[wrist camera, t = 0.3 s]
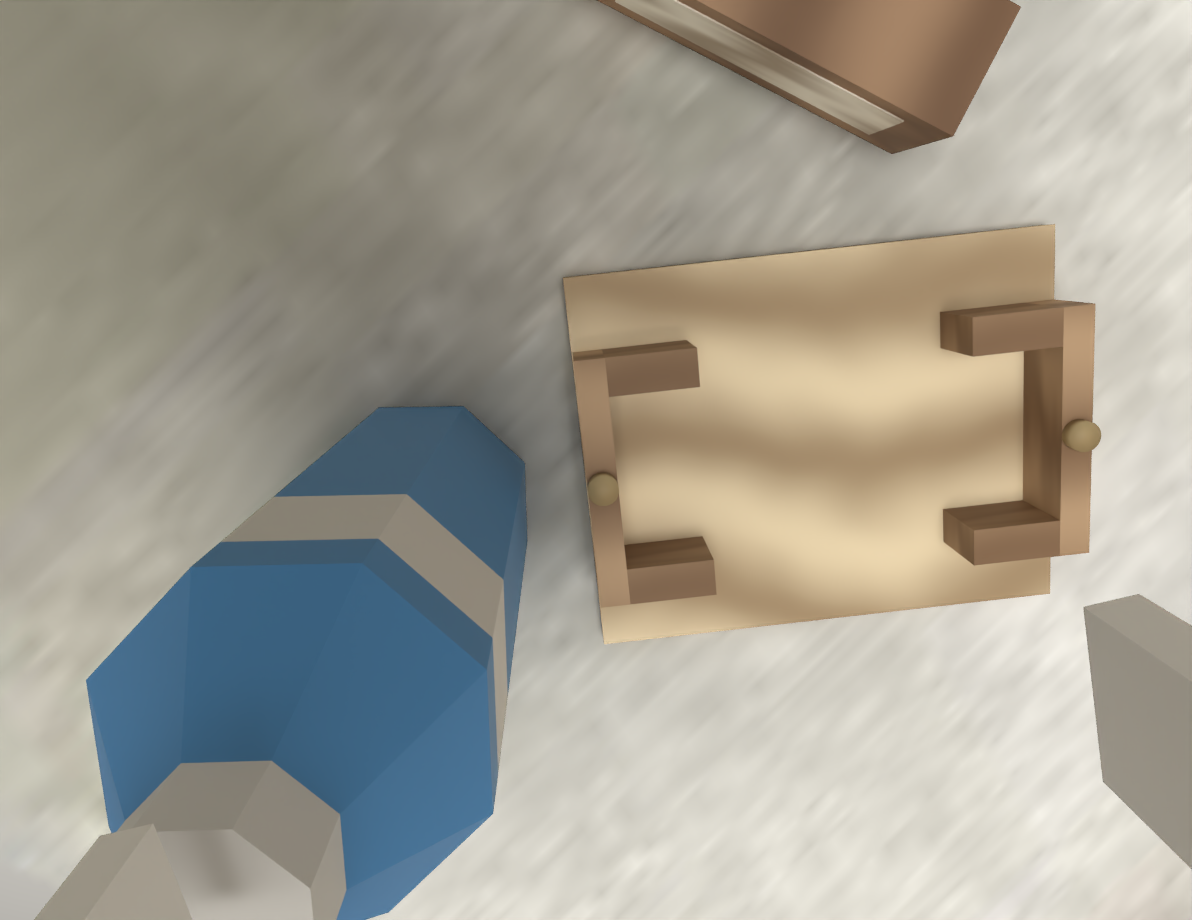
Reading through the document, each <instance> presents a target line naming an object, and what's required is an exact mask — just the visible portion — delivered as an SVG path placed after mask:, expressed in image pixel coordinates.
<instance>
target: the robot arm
mask: <svg viewBox="0 0 1192 920" xmlns="http://www.w3.org/2000/svg"><path fill="white" fill-rule="evenodd" d="M1083 608H1084V617H1085V626H1086V634H1087V643H1088V652H1089V661H1090V670H1091V679H1092V688H1093V697H1094V706H1095V715H1096V724H1097V733H1098V742H1099V751H1100V760H1101V769H1102V778H1103V782H1104V783H1105V784H1106V785H1107V786H1108V787H1109V788H1110V789H1111V790H1112V791H1113V792H1114V793H1115V794H1116V795H1117V796H1118V797H1119V798H1120V799H1121V800H1122V801H1123V802H1124V803H1125V804H1126V805H1127V806H1128V807H1129V808H1130V809H1131V810H1132V811H1133V812H1134V813H1135V814H1136V815H1137V816H1138V817H1139V818H1140V819H1141V820H1142V821H1143V822H1144V823H1145V824H1146V825H1147V826H1149V827H1150V828H1151V829H1152V830H1153V831H1154V832H1155V833H1156V834H1157V835H1158V836H1159V837H1160V838H1161V839H1162V840H1163V841H1164V842H1165V843H1166V844H1167V845H1168V846H1169V847H1170V848H1171V849H1172V850H1173V851H1174V852H1175V853H1176V854H1177V855H1178V856H1179V857H1180V858H1181V859H1182V860H1183V861H1184V862H1185V863H1186V864H1187V865H1188V866H1189V867H1190V868H1191V869H1192V626H1191V625H1190V624H1188V623H1186V622H1185V621H1183V620H1181V619H1180V618H1178V617H1176V616H1175V615H1173V614H1171V613H1170V612H1168V611H1166V610H1165V609H1163V608H1161V607H1160V606H1158V605H1156V604H1155V603H1153V602H1151V601H1150V600H1148V599H1146V598H1145V597H1143V596H1141V595H1140V594H1137V595H1133V596H1128V597H1124V598H1120V599H1115V600H1111V601H1107V602H1103V603H1098V604H1094V605H1090V606H1085V607H1083ZM34 920H193V919H192V917H191V915H190V912H189V910H188V907H187V905H186V902H185V900H184V897H183V895H182V893H181V890H180V888H179V885H178V883H177V880H176V878H175V876H174V873H173V871H172V868H171V866H170V863H169V861H168V858H167V856H166V854H165V851H164V849H163V846H162V844H161V841H160V839H159V836H158V834H157V832H156V829H155V827H154V824H149V825H144V826H140V827H136V828H131V829H127V830H123V831H119V832H114V833H110V834H106V835H101V836H100V837H99V838H98V839H97V840H96V842H95V843H94V844H93V845H92V847H91V848H90V849H89V851H88V852H87V853H86V854H85V856H84V857H83V858H82V859H81V861H80V862H79V863H78V865H77V866H76V867H75V868H74V870H73V871H72V872H71V873H70V875H69V876H68V877H67V878H66V880H65V881H64V882H63V884H62V885H61V886H60V887H59V889H58V890H57V891H56V892H55V894H54V895H53V896H52V898H51V899H50V900H49V901H48V903H47V904H46V905H45V906H44V908H43V909H42V910H41V912H40V913H39V914H38V915H37V917H36V918H35V919H34Z"/></svg>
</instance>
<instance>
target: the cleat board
mask: <svg viewBox="0 0 1192 920" xmlns="http://www.w3.org/2000/svg"><path fill="white" fill-rule="evenodd" d="M1054 269H1055V224H1053V225H1038V226H1029V227H1020V228H1011V229H1002V230H993V231H984V232H974V233H965V234H956V235H947V236H938V237H929V238H920V239H911V240H901V241H892V242H883V243H874V244H865V245H856V246H847V247H838V248H828V249H819V250H810V251H801V252H792V253H783V254H774V255H765V256H755V257H746V258H737V259H728V260H719V261H710V262H701V263H691V264H682V265H673V266H664V267H655V268H646V269H637V270H628V271H618V272H609V273H600V274H591V275H582V276H573V277H564V278H563V284H564V293H565V302H566V311H567V319H568V328H569V337H570V346H571V355H572V364H573V373H574V382H575V390H576V399H577V408H578V417H579V426H580V435H581V444H582V453H583V461H584V470H585V479H586V488H587V497H588V506H589V515H590V524H591V532H592V541H593V550H594V559H595V568H596V577H597V586H598V595H599V603H600V612H601V621H602V630H603V639H604V644H610V643H619V642H628V641H637V640H645V639H654V638H663V637H672V636H681V635H689V634H698V633H707V632H716V631H725V630H733V629H742V628H751V627H760V626H769V625H777V624H786V623H795V622H804V621H813V620H821V619H830V618H839V617H848V616H857V615H865V614H874V613H883V612H892V611H900V610H909V609H918V608H927V607H936V606H944V605H953V604H962V603H971V602H980V601H988V600H997V599H1006V598H1015V597H1024V596H1032V595H1041V594H1050V557H1054V556H1063V555H1072V554H1081V553H1089V535H1090V495H1091V455H1092V450H1093V449H1094V448H1095V447H1096V446H1097V445H1098V444H1099V442H1100V439H1101V431H1100V429H1099V427H1098V426H1097V425H1096V424H1094V423H1092V415H1093V375H1094V335H1095V304H1093V303H1083V302H1073V301H1063V300H1054Z"/></svg>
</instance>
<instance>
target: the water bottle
mask: <svg viewBox="0 0 1192 920" xmlns="http://www.w3.org/2000/svg"><path fill="white" fill-rule="evenodd" d="M526 547H527V519H526V486H525V463H524V462H523V461H522V460H521V459H520V458H519V457H518V456H517V455H516V454H515V453H514V452H512V451H511V450H510V449H509V448H508V447H507V446H506V445H505V444H504V443H503V442H502V441H501V440H499V439H498V438H497V437H496V436H495V435H494V434H493V433H492V432H491V431H490V430H489V429H488V428H487V427H485V426H484V425H483V424H482V423H481V422H480V421H479V420H478V419H477V418H476V417H475V416H474V415H472V414H471V413H470V412H469V411H468V410H467V409H466V408H465V407H464V406H446V407H386V408H378V409H377V410H375V411H374V412H373V413H372V414H371V415H370V416H368V417H367V418H366V419H365V420H364V421H362V422H361V423H360V424H359V425H358V426H357V427H355V428H354V429H353V430H352V431H351V432H350V433H348V434H347V435H346V436H345V437H344V438H342V439H341V440H340V441H339V442H338V443H337V444H335V445H334V446H333V447H332V448H331V449H329V450H328V451H327V452H326V453H325V454H324V455H322V456H321V457H320V458H319V459H318V460H317V461H315V462H314V463H313V464H312V465H311V466H309V467H308V468H307V469H306V470H305V471H304V472H302V473H301V474H300V475H299V476H298V477H296V478H295V479H294V480H293V481H292V482H291V483H289V484H288V485H287V486H286V487H285V488H284V489H282V490H281V491H280V492H279V493H278V494H276V495H275V496H274V497H273V498H272V499H271V500H269V501H268V502H267V503H266V504H265V505H263V506H262V507H261V508H260V509H259V510H258V511H256V512H255V513H254V514H253V515H252V516H251V517H249V518H248V519H247V520H246V521H245V522H243V523H242V524H241V525H240V526H239V527H238V528H236V529H235V530H234V531H233V532H232V533H230V534H229V535H228V536H227V537H226V538H225V539H223V540H222V541H221V542H220V543H219V544H218V545H216V546H215V547H214V548H213V549H212V550H210V551H209V552H208V553H207V554H206V555H205V556H203V557H202V558H201V559H200V560H199V561H198V562H196V563H195V564H194V565H193V566H192V567H191V568H190V569H189V570H188V571H187V572H186V573H185V574H184V575H183V576H182V577H181V578H180V579H179V581H178V582H177V583H176V584H175V585H174V586H173V587H172V588H171V589H170V590H169V591H168V592H167V593H166V595H165V596H164V597H163V598H162V599H161V600H160V601H159V602H158V603H157V604H156V605H155V606H154V607H153V609H152V610H151V611H150V612H149V613H148V614H147V615H146V616H145V617H144V618H143V619H142V620H141V621H140V623H139V624H138V625H137V626H136V627H135V628H134V629H133V630H132V631H131V632H130V633H129V634H128V635H127V637H126V638H125V639H124V640H123V641H122V642H121V643H120V644H119V645H118V646H117V647H116V648H115V650H114V651H113V652H112V653H111V654H110V655H109V656H108V657H107V658H106V659H105V660H104V661H103V662H102V664H101V665H100V666H99V667H98V668H97V669H96V670H95V671H94V672H93V673H92V674H91V675H90V676H89V678H88V679H87V680H86V683H87V690H88V696H89V703H90V709H91V715H92V722H93V728H94V735H95V741H96V747H97V754H98V760H99V767H100V773H101V779H102V786H103V792H104V799H105V805H106V812H107V818H108V824H109V828H110V830H111V833H114V832H119V831H123V830H127V829H131V828H136V827H140V826H144V825H149V824H154V827H155V829H156V832H157V834H158V836H159V839H160V841H161V844H162V846H163V849H164V851H165V854H166V856H167V858H168V861H169V863H170V866H171V868H172V871H173V873H174V876H175V878H176V880H177V883H178V885H179V888H180V890H181V893H182V895H183V897H184V900H185V902H186V905H187V907H188V910H189V912H190V915H191V917H192V919H193V920H366V919H369V918H372V917H375V916H378V915H381V914H385V913H388V912H389V911H390V910H392V909H393V908H394V907H395V906H396V905H397V904H398V903H399V902H400V901H401V900H402V899H403V898H404V897H405V896H406V895H407V894H408V893H410V892H411V891H412V890H413V889H414V888H415V887H416V886H417V885H418V884H419V883H420V882H421V881H422V880H423V879H424V878H425V877H426V876H427V875H429V874H430V873H431V872H432V871H433V870H434V869H435V868H436V867H437V866H438V865H439V864H440V863H441V862H442V861H443V860H444V859H445V858H447V857H448V856H449V855H450V854H451V853H452V852H453V851H454V850H455V849H456V848H457V847H458V846H459V845H460V844H461V843H462V842H463V841H465V840H466V839H467V838H468V837H469V836H470V835H471V834H472V833H473V832H474V831H475V830H476V829H477V828H478V827H479V826H480V825H481V824H482V823H484V822H485V821H486V820H487V819H488V818H489V817H490V816H491V815H492V814H493V809H494V802H495V794H496V786H497V778H498V770H499V762H500V754H501V746H502V738H503V730H504V722H505V714H506V706H507V698H508V690H509V682H510V674H511V666H512V658H513V650H514V642H515V635H516V627H517V619H518V611H519V603H520V595H521V587H522V579H523V571H524V563H525V555H526Z"/></svg>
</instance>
